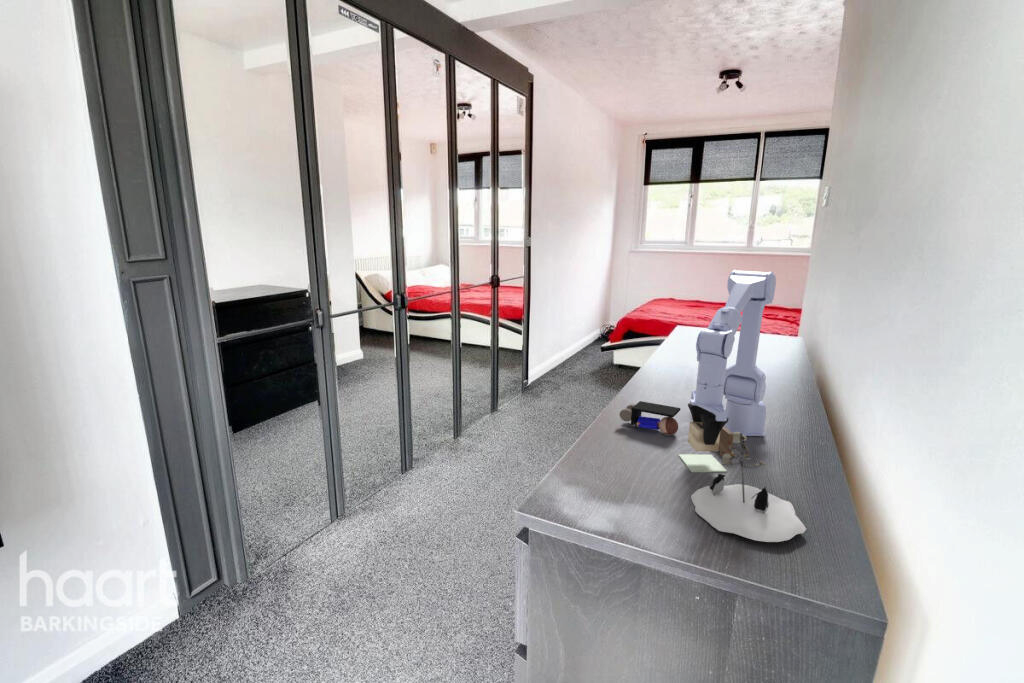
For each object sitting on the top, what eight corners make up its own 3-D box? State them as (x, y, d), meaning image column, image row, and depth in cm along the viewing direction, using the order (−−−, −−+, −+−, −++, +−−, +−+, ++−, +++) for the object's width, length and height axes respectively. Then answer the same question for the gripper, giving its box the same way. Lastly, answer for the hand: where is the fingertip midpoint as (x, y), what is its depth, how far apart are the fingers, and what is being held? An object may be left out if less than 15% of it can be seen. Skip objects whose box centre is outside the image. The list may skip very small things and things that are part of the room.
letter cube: (708, 441, 110) (711, 421, 109) (718, 451, 105) (720, 430, 104) (687, 441, 110) (689, 421, 109) (696, 451, 105) (698, 430, 104)
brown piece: (713, 436, 124) (715, 415, 123) (734, 457, 112) (737, 434, 111) (702, 436, 124) (704, 415, 123) (722, 457, 112) (725, 433, 111)
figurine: (830, 534, 82) (836, 445, 80) (746, 554, 77) (750, 460, 74) (743, 487, 101) (746, 414, 99) (671, 500, 96) (673, 424, 93)
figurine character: (619, 432, 130) (674, 440, 121) (617, 406, 128) (673, 412, 119) (628, 424, 135) (681, 432, 126) (627, 399, 134) (681, 404, 125)
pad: (711, 456, 113) (711, 454, 112) (726, 472, 105) (726, 470, 105) (678, 455, 112) (678, 454, 112) (691, 472, 105) (691, 470, 105)
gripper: (680, 373, 111) (675, 426, 114) (706, 392, 97) (699, 452, 100) (710, 373, 111) (704, 426, 114) (739, 393, 97) (732, 453, 100)
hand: (704, 438), depth 107 cm, fingers closed on letter cube, 5 cm apart
